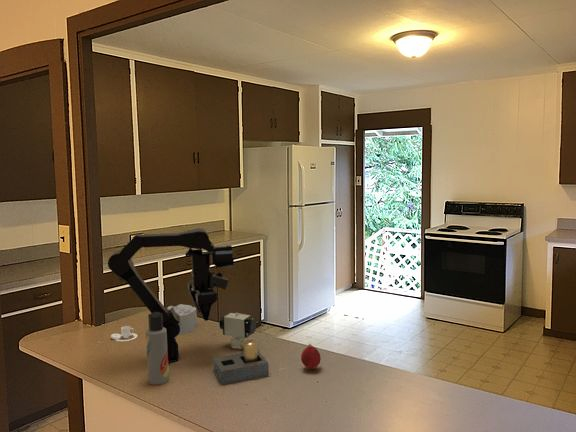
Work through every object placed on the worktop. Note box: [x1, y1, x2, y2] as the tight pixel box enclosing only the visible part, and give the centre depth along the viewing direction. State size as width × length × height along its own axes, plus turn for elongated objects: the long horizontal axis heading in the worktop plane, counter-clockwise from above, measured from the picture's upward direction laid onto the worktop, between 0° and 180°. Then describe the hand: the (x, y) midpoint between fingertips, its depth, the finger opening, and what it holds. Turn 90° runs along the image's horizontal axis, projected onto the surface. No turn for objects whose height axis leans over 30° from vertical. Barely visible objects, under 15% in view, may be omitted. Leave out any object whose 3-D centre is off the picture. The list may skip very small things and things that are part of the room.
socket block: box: [212, 350, 270, 386], centre depth 145 cm, size 14×10×4 cm
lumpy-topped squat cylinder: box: [166, 303, 198, 336], centre depth 184 cm, size 10×13×9 cm
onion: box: [300, 343, 322, 371], centre depth 146 cm, size 6×6×8 cm
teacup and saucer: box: [110, 325, 138, 342], centre depth 177 cm, size 9×8×4 cm
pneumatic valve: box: [219, 312, 257, 350], centre depth 165 cm, size 6×12×12 cm, turn 66°
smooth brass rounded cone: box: [243, 339, 258, 364], centre depth 146 cm, size 4×4×9 cm
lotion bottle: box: [145, 312, 170, 386], centre depth 141 cm, size 6×6×20 cm
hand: (203, 316), depth 158 cm, fingers open, 9 cm apart
